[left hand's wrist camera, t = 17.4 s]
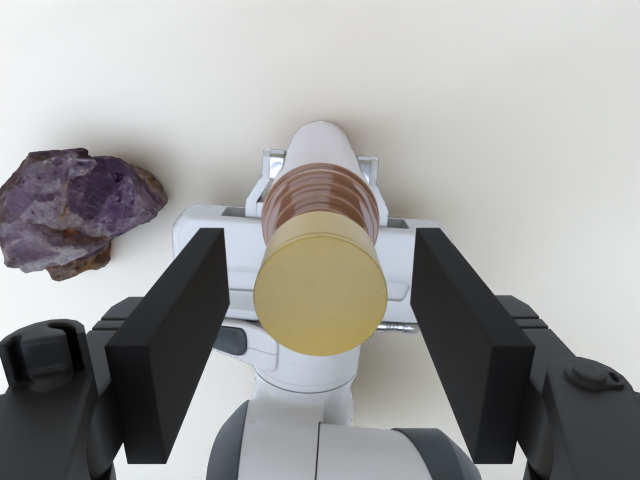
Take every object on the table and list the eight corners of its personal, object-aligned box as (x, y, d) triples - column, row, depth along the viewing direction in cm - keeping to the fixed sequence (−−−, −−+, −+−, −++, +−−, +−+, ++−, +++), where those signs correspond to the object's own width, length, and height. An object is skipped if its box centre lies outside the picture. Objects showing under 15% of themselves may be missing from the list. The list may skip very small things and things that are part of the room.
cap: (335, 187, 13) (338, 209, 11) (398, 278, 15) (412, 315, 12) (240, 251, 14) (225, 284, 12) (306, 333, 15) (304, 377, 13)
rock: (187, 209, 40) (111, 112, 36) (170, 235, 31) (70, 113, 28) (81, 280, 40) (-3, 190, 37) (38, 324, 32) (-75, 213, 29)
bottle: (355, 175, 37) (419, 350, 13) (297, 186, 38) (257, 378, 14) (344, 114, 36) (395, 189, 12) (283, 127, 36) (210, 226, 12)
